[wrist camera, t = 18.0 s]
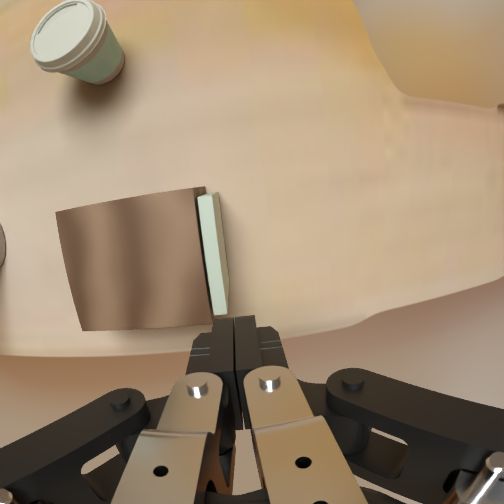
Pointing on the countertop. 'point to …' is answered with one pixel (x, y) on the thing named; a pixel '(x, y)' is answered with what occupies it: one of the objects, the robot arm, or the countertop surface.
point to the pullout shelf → (214, 250)
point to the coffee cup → (77, 43)
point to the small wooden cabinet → (137, 262)
